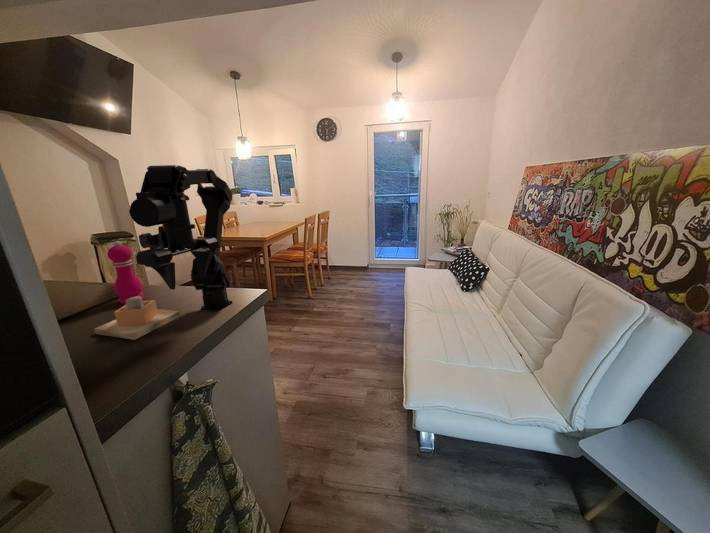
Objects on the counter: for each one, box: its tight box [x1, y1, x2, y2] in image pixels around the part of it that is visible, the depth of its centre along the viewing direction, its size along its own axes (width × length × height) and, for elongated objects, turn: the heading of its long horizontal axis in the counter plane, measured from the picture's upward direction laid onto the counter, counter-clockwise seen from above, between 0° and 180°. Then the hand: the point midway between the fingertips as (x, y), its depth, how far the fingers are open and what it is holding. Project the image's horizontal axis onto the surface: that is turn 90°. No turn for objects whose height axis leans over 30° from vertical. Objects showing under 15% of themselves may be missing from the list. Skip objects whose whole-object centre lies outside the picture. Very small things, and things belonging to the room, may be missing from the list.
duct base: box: [94, 296, 181, 341], centre depth 74 cm, size 13×13×8 cm
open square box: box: [113, 299, 158, 326], centre depth 74 cm, size 6×6×4 cm
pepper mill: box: [106, 240, 145, 305], centre depth 89 cm, size 7×7×20 cm
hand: (188, 282), depth 70 cm, fingers open, 9 cm apart
